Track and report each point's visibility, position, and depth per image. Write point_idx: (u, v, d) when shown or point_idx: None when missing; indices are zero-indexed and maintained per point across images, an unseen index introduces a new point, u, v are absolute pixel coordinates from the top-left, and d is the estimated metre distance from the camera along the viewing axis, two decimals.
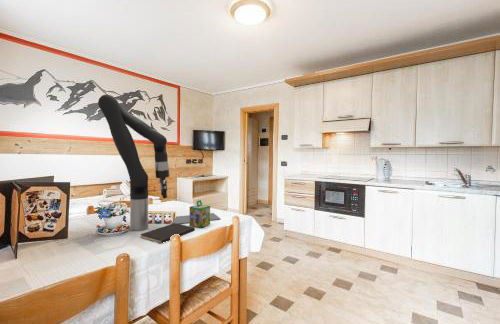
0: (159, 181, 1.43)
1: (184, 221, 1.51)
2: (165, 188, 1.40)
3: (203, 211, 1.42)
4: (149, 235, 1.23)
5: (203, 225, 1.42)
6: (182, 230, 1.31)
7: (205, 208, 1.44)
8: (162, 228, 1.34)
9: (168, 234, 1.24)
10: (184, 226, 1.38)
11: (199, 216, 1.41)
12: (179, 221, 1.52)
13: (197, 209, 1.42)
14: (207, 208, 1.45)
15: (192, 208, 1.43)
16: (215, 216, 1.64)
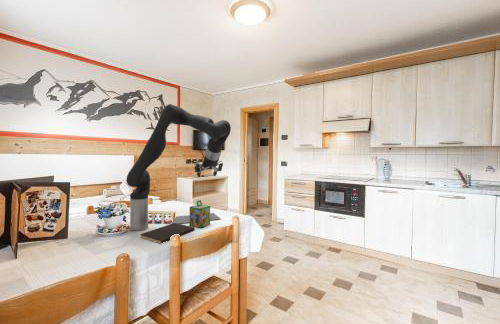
0: None
1: (184, 221, 1.51)
2: None
3: (203, 211, 1.42)
4: (149, 235, 1.24)
5: (203, 225, 1.42)
6: (182, 230, 1.31)
7: (206, 208, 1.44)
8: (162, 228, 1.34)
9: (168, 234, 1.24)
10: (184, 226, 1.38)
11: (199, 216, 1.41)
12: (179, 221, 1.52)
13: (197, 209, 1.42)
14: (207, 208, 1.45)
15: (192, 208, 1.43)
16: (215, 216, 1.64)
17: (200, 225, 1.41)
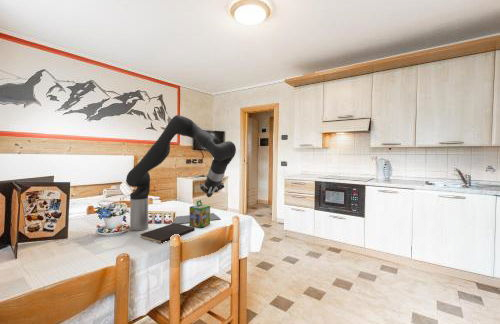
0: None
1: (184, 221, 1.51)
2: None
3: (203, 211, 1.42)
4: (149, 234, 1.24)
5: (203, 225, 1.42)
6: (182, 230, 1.31)
7: (206, 208, 1.44)
8: (162, 228, 1.34)
9: (168, 234, 1.24)
10: (184, 226, 1.38)
11: (199, 216, 1.41)
12: (179, 221, 1.52)
13: (197, 209, 1.42)
14: (207, 208, 1.45)
15: (192, 208, 1.43)
16: (215, 216, 1.64)
17: (200, 225, 1.41)
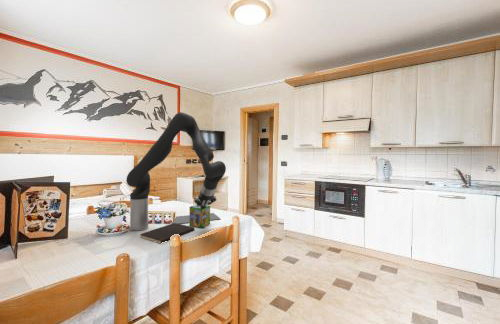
0: None
1: (184, 221, 1.51)
2: None
3: (203, 211, 1.42)
4: (148, 234, 1.24)
5: (203, 225, 1.42)
6: (182, 230, 1.31)
7: (205, 208, 1.44)
8: (162, 228, 1.34)
9: (168, 234, 1.24)
10: (184, 226, 1.38)
11: (199, 216, 1.41)
12: (179, 221, 1.52)
13: (197, 209, 1.42)
14: (207, 207, 1.45)
15: (192, 208, 1.43)
16: (215, 216, 1.64)
17: (200, 225, 1.41)
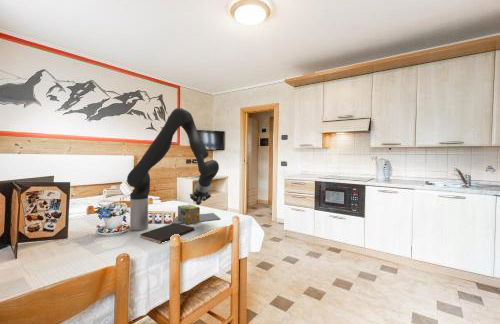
0: None
1: None
2: (198, 199, 1.46)
3: (182, 206, 1.53)
4: (148, 234, 1.24)
5: (188, 208, 1.47)
6: (182, 230, 1.31)
7: (184, 205, 1.56)
8: (162, 228, 1.34)
9: (168, 234, 1.24)
10: (184, 226, 1.38)
11: (181, 209, 1.50)
12: (179, 221, 1.52)
13: (178, 211, 1.53)
14: (186, 205, 1.57)
15: (178, 216, 1.53)
16: (215, 216, 1.64)
17: (185, 210, 1.46)
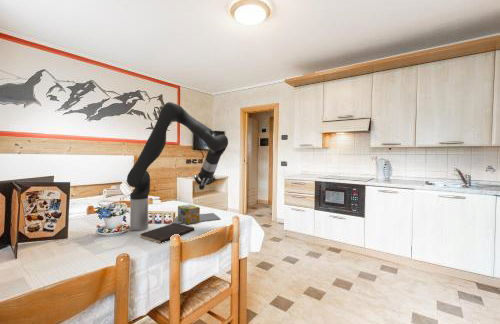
0: None
1: None
2: None
3: (182, 206, 1.53)
4: (148, 234, 1.24)
5: (188, 208, 1.47)
6: (182, 230, 1.31)
7: (184, 205, 1.56)
8: (162, 228, 1.34)
9: (168, 234, 1.24)
10: (184, 226, 1.38)
11: (181, 209, 1.50)
12: (179, 221, 1.52)
13: (178, 211, 1.53)
14: (186, 205, 1.57)
15: (178, 216, 1.53)
16: (215, 216, 1.64)
17: (185, 210, 1.46)
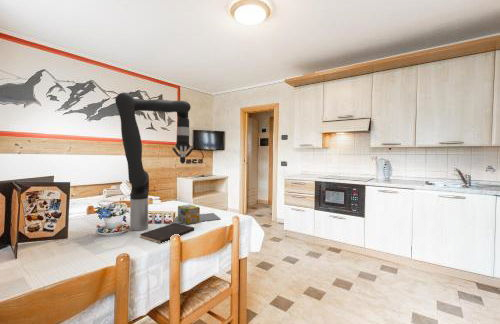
0: None
1: None
2: (181, 154, 1.48)
3: (182, 206, 1.53)
4: (148, 234, 1.24)
5: (188, 208, 1.47)
6: (182, 230, 1.31)
7: (184, 205, 1.56)
8: (162, 228, 1.34)
9: (168, 234, 1.24)
10: (184, 226, 1.38)
11: (181, 209, 1.50)
12: (179, 221, 1.52)
13: (178, 211, 1.53)
14: (186, 205, 1.57)
15: (178, 216, 1.53)
16: (215, 216, 1.64)
17: (185, 210, 1.46)
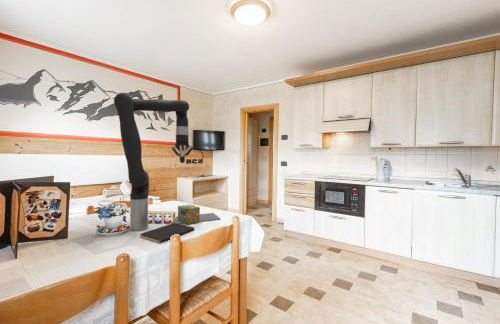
0: None
1: None
2: None
3: (182, 206, 1.53)
4: (148, 234, 1.24)
5: (188, 208, 1.47)
6: (182, 230, 1.31)
7: (184, 205, 1.56)
8: (162, 228, 1.34)
9: (168, 234, 1.24)
10: (184, 226, 1.38)
11: (181, 209, 1.50)
12: (179, 221, 1.52)
13: (178, 211, 1.53)
14: (186, 205, 1.57)
15: (178, 216, 1.53)
16: (215, 216, 1.64)
17: (185, 210, 1.46)
